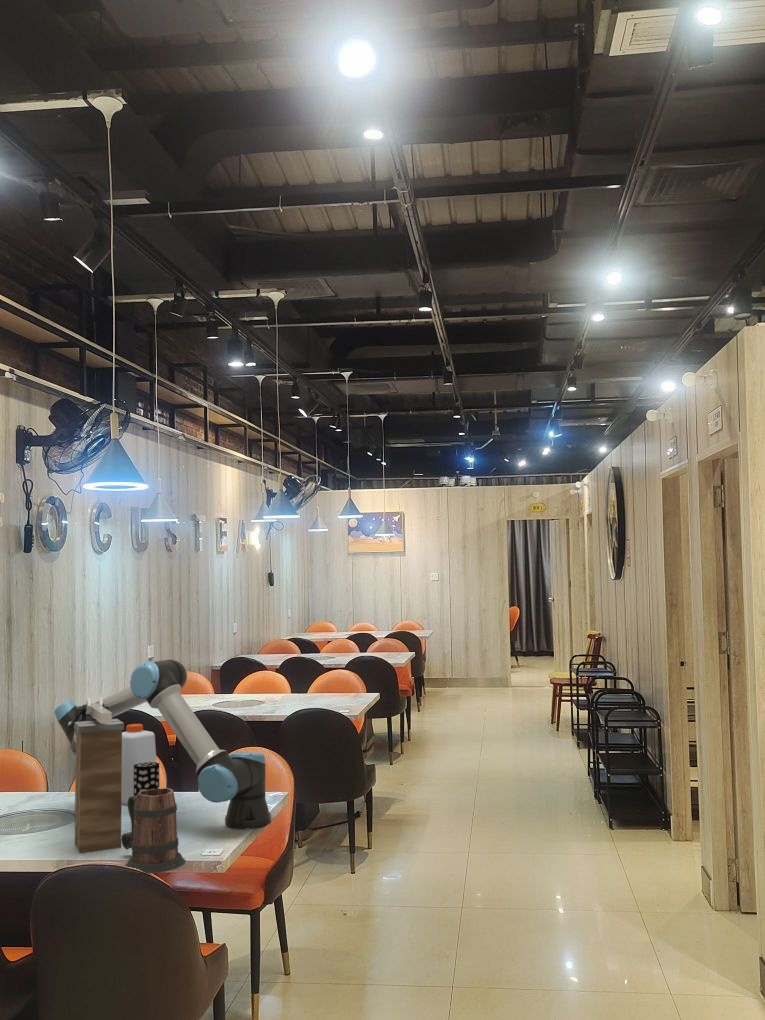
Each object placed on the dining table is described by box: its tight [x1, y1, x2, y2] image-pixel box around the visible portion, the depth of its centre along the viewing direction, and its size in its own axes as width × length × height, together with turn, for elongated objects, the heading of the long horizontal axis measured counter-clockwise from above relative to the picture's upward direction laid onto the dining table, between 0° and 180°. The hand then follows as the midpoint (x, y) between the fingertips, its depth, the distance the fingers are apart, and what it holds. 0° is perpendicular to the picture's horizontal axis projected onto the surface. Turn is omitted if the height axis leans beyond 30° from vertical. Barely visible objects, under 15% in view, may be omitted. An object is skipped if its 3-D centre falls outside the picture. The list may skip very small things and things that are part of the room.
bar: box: [88, 702, 113, 724], centre depth 266 cm, size 32×3×3 cm, turn 26°
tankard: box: [121, 787, 186, 875], centre depth 244 cm, size 24×17×20 cm
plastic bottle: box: [121, 723, 157, 806], centre depth 323 cm, size 15×15×28 cm
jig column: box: [74, 718, 125, 854], centre depth 264 cm, size 13×13×37 cm
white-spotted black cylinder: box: [134, 761, 160, 796], centre depth 284 cm, size 8×8×20 cm
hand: (95, 701), depth 273 cm, fingers closed on bar, 3 cm apart
